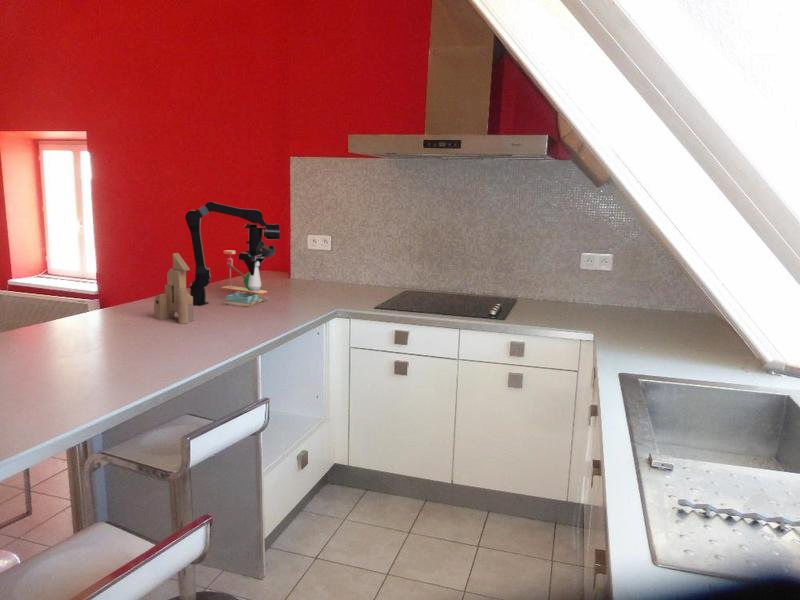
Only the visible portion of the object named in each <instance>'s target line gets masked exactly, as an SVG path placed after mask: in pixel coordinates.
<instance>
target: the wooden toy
mask: <svg viewBox="0 0 800 600" xmlns="http://www.w3.org/2000/svg"><path fill="white" fill-rule="evenodd" d="M190 270H191V269H190V267H189V266H188V264H187V263H186V262H185V260H184V259H183V258H182V256H181V255H180V253H179V252H176V253H175V252H174V253H172V268H170V269H169V270H168V271H167V274H166V275H167V277H166V278H167V284H165V285H164V293H161V294H158V295H156V296H155V297H154V301H153V307H154V308H153V309H154V311H153V312H154V320H158V321H162V320H167V319H171V318H175V314H176V313H177V315H178V324H180V325H185V324H188V323H189V321H190V322H193V321H194V305H193V297H192V296H191V295H190V292H189V291H188V288H187V271H190Z"/></svg>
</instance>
